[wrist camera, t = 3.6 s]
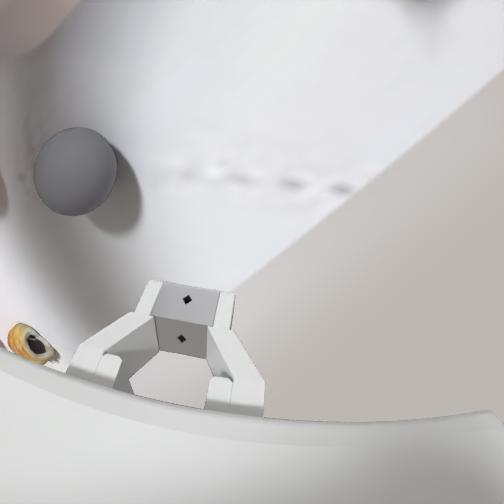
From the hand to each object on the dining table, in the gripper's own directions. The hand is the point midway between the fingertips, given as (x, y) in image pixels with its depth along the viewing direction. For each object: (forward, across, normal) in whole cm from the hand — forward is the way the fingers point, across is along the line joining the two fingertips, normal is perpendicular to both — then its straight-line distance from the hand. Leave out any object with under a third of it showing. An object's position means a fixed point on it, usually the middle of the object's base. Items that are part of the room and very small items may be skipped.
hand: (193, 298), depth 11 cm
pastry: (+12, +27, +27) cm, 40 cm away
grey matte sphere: (+8, +10, 0) cm, 13 cm away
